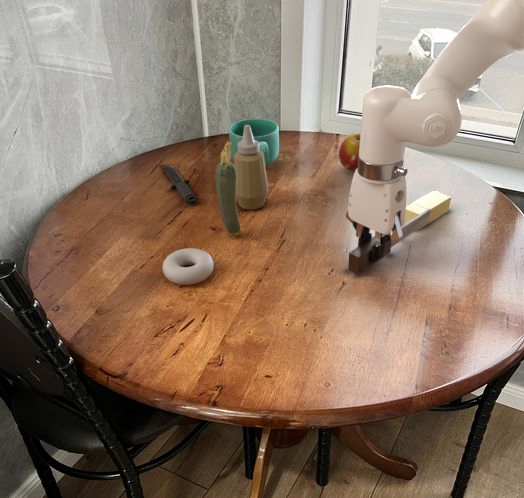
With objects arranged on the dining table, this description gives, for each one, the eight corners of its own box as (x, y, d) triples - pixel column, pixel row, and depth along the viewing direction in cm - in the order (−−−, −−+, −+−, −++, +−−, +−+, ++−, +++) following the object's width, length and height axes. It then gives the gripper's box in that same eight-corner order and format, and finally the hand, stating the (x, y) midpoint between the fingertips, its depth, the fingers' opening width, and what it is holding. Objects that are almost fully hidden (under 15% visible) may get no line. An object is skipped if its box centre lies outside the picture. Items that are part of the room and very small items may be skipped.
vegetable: (225, 242, 114) (216, 149, 100) (218, 232, 117) (208, 141, 103) (244, 237, 115) (238, 144, 101) (237, 227, 118) (229, 136, 104)
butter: (448, 211, 120) (451, 196, 117) (426, 224, 116) (429, 209, 113) (431, 204, 122) (433, 190, 120) (409, 217, 118) (412, 202, 116)
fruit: (364, 178, 133) (367, 146, 127) (331, 171, 136) (332, 140, 131) (380, 163, 138) (383, 132, 133) (347, 157, 142) (350, 126, 137)
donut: (217, 285, 103) (211, 255, 110) (215, 270, 101) (210, 241, 108) (165, 292, 102) (162, 262, 109) (162, 277, 100) (160, 247, 107)
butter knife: (432, 223, 113) (435, 206, 111) (357, 275, 103) (358, 257, 100) (422, 219, 115) (425, 202, 112) (348, 269, 104) (348, 252, 101)
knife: (200, 200, 126) (192, 192, 124) (185, 213, 127) (177, 205, 125) (178, 159, 143) (172, 151, 141) (165, 170, 144) (158, 163, 142)
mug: (229, 156, 145) (226, 120, 139) (275, 151, 146) (274, 115, 140) (236, 183, 133) (233, 146, 127) (286, 178, 134) (285, 140, 128)
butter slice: (426, 224, 116) (429, 210, 113) (418, 230, 114) (420, 215, 112) (409, 217, 118) (411, 202, 116) (401, 222, 117) (403, 207, 115)
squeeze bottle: (274, 199, 127) (272, 121, 115) (260, 215, 122) (256, 135, 109) (243, 193, 130) (238, 116, 117) (228, 209, 124) (221, 130, 112)
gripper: (432, 173, 90) (415, 265, 102) (358, 146, 99) (350, 234, 111) (405, 188, 86) (391, 282, 99) (330, 159, 95) (326, 249, 108)
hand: (369, 256), depth 105 cm, fingers closed on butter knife, 2 cm apart
